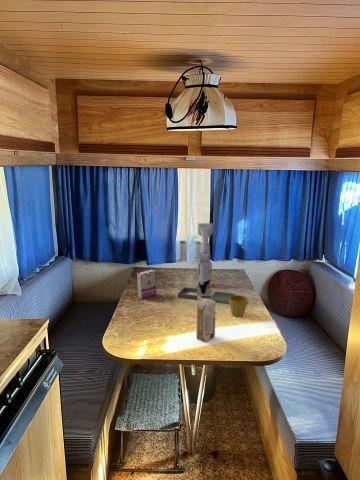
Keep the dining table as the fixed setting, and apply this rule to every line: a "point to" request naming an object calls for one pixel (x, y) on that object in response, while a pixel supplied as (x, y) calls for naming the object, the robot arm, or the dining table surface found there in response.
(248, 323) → the dining table surface
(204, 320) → the juice carton
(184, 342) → the dining table surface
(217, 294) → the tray
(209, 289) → the grey upright block
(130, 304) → the dining table surface
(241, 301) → the plant pot
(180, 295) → the frame
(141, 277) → the candy bar box
